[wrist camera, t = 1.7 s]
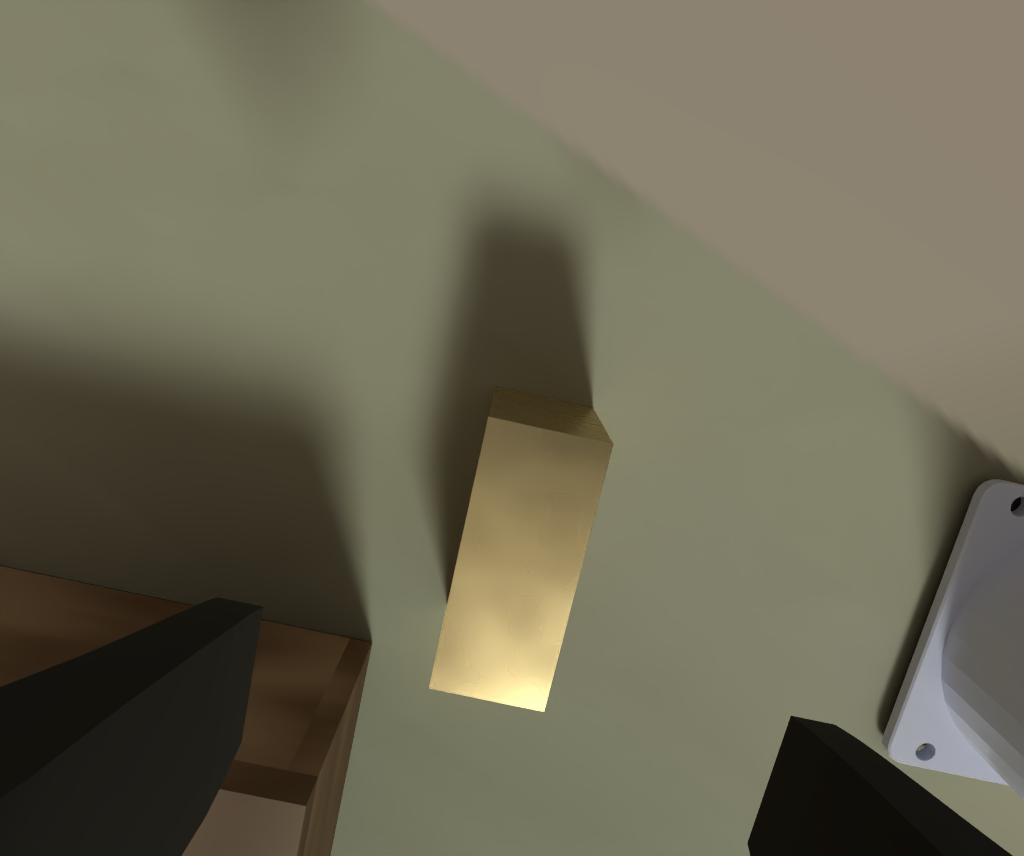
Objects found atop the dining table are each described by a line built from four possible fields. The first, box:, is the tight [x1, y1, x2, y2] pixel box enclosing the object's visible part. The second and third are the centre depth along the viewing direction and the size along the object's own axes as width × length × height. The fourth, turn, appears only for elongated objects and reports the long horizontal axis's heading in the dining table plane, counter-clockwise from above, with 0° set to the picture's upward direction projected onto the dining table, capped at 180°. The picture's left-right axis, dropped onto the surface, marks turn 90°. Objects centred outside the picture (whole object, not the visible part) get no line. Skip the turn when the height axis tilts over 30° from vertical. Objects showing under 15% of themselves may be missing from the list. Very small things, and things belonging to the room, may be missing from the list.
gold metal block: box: [429, 386, 613, 712], centre depth 16 cm, size 2×6×4 cm, turn 167°
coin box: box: [0, 566, 372, 856], centre depth 17 cm, size 12×10×6 cm
